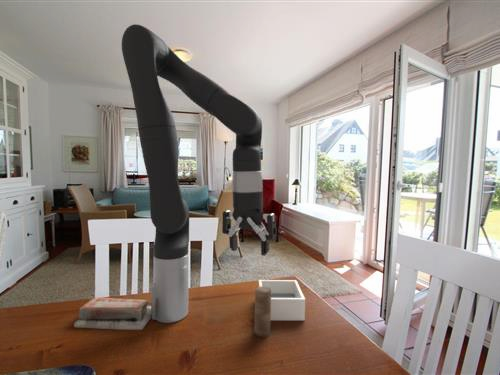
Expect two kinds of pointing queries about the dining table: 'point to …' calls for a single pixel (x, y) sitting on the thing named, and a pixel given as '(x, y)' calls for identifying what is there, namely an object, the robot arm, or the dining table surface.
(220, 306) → the dining table surface
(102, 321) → the packaged product
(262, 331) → the peg
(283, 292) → the open box
